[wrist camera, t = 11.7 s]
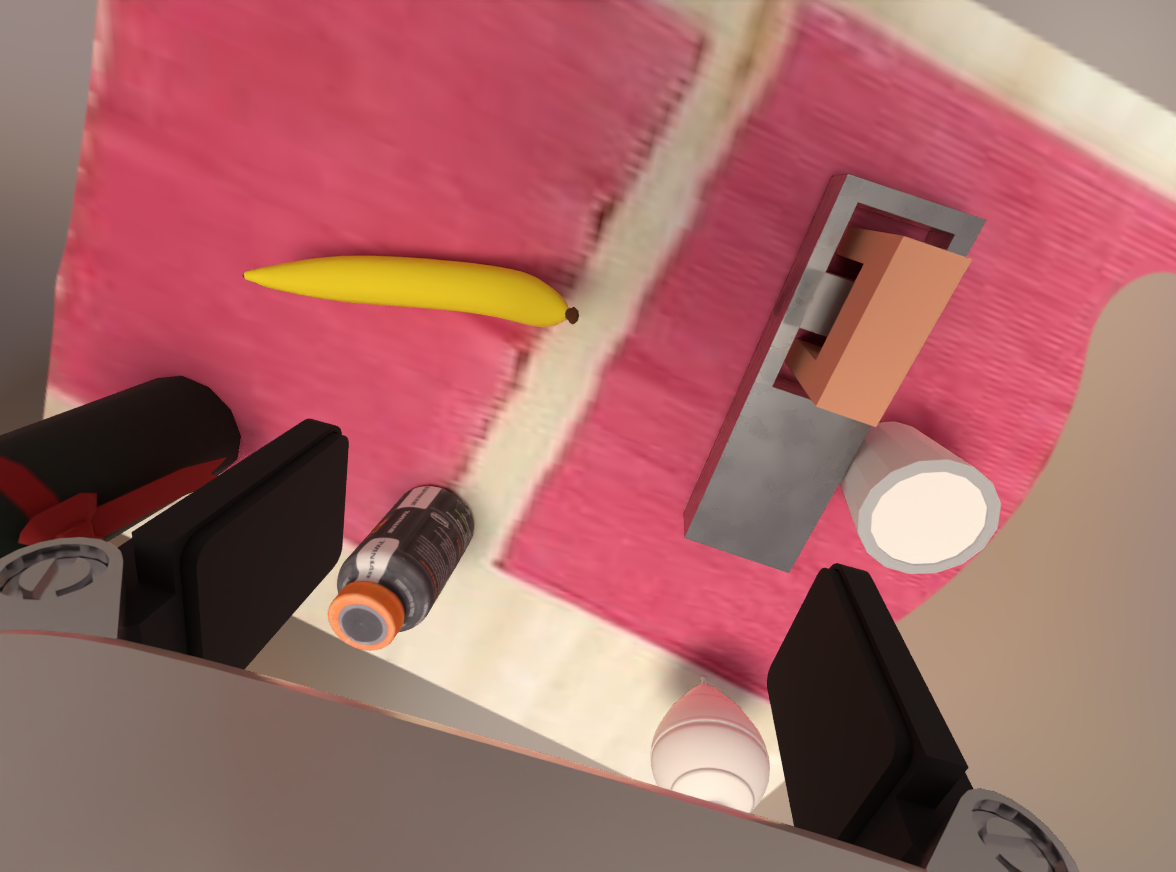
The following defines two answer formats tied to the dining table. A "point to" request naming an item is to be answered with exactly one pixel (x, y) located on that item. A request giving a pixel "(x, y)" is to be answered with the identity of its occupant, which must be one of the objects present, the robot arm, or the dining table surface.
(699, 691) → the spinning top
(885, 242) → the orange block
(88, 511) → the wine bottle
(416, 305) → the banana
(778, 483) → the grey slotted block
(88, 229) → the dining table surface
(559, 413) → the dining table surface
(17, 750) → the robot arm
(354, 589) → the pill bottle
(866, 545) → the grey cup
